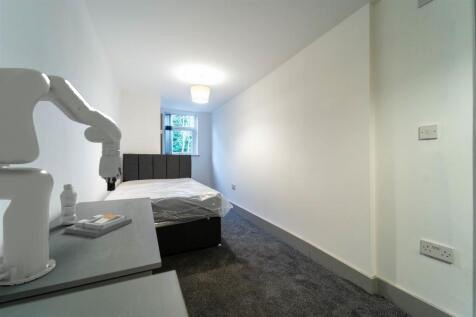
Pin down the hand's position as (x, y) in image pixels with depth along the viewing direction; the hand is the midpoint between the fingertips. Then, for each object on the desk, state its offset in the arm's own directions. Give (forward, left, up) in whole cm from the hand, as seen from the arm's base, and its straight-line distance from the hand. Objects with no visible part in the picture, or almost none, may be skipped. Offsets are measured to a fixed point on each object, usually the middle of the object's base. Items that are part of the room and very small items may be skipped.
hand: (111, 190), depth 100 cm
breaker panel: (-3, +3, -18) cm, 18 cm away
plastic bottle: (-5, +21, -18) cm, 28 cm away
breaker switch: (-3, 0, -14) cm, 14 cm away
